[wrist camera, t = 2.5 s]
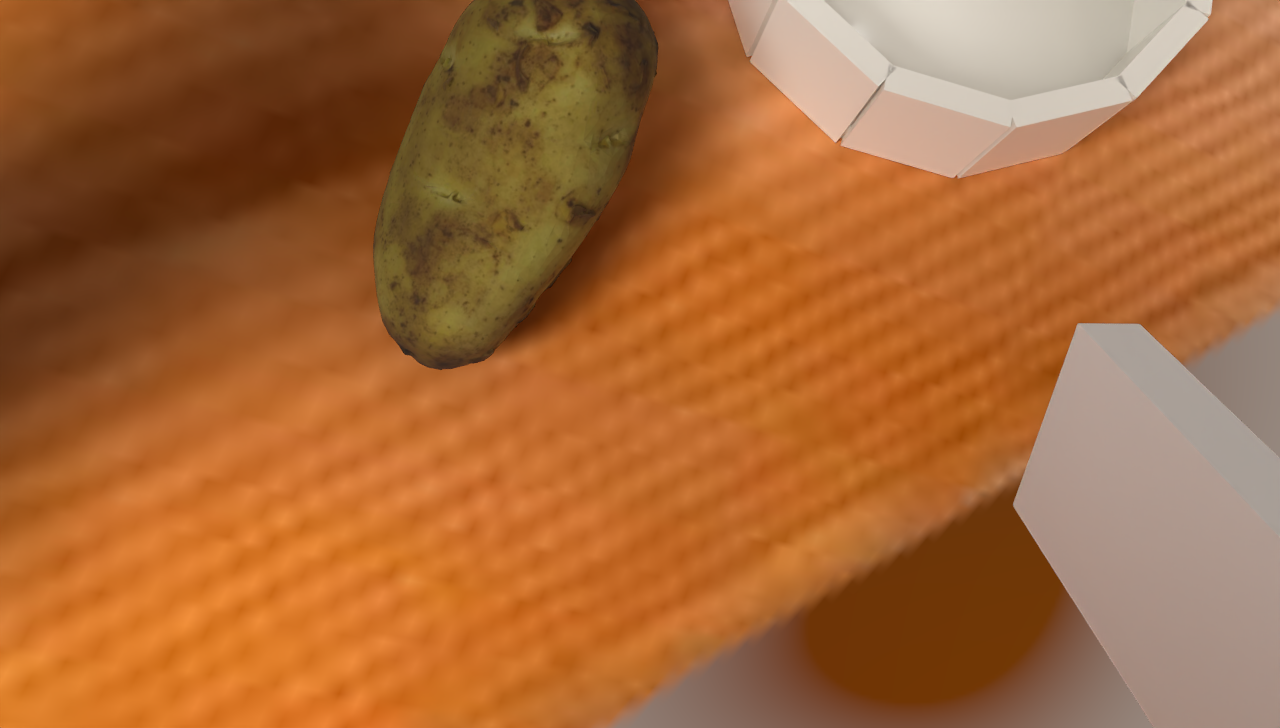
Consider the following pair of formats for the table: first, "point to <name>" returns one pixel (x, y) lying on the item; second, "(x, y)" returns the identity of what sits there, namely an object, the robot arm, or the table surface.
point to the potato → (506, 168)
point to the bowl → (963, 71)
